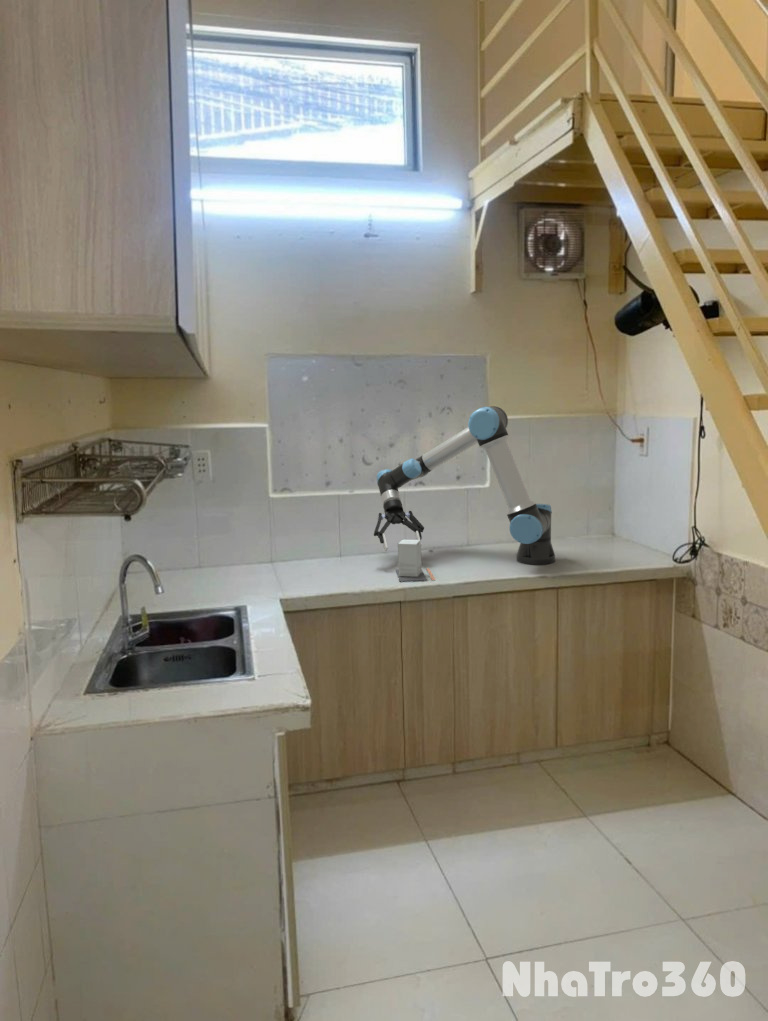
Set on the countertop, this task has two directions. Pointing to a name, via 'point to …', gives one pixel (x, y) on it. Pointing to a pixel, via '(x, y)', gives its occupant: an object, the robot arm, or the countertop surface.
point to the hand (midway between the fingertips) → (403, 548)
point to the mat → (406, 578)
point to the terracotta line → (430, 574)
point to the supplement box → (409, 558)
